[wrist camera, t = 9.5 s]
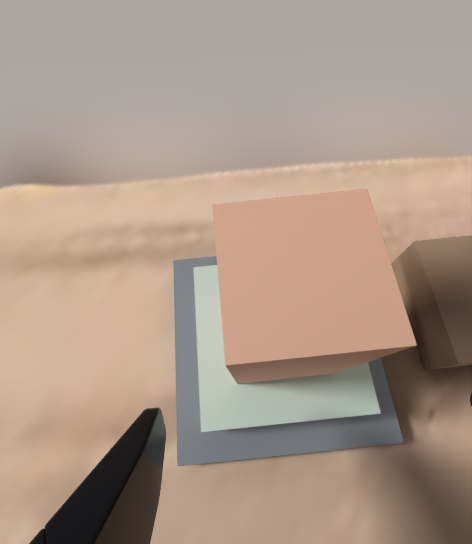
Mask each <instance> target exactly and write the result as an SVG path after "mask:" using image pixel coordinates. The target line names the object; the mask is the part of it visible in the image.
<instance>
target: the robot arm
mask: <svg viewBox="0 0 472 544" xmlns="http://www.w3.org/2000/svg"><path fill="white" fill-rule="evenodd" d="M470 402H471V406H472V393H471V397H470ZM165 441H166V428H165V424H164V420H163V416H162V411H161V409H160V408H148V409H145V410H144V411H143V412H142V413H141V415H140V416H139V417H138V418H137V419H136V420H135V422H134V423H133V424H132V425H131V426H130V427H129V429H128V430H127V431H126V432H125V433H124V434H123V435H122V437H121V438H120V439H119V440H118V441H117V442H116V444H115V445H114V446H113V447H112V448H111V449H110V451H109V452H108V453H107V454H106V455H105V456H104V458H103V459H102V460H101V461H100V462H99V463H98V465H97V466H96V467H95V468H94V469H93V470H92V471H91V473H90V474H89V475H88V476H87V477H86V478H85V480H84V481H83V482H82V483H81V484H80V485H79V487H78V488H77V489H76V490H75V491H74V492H73V494H72V495H71V496H70V497H69V498H68V499H67V501H66V502H65V503H64V504H63V505H62V506H61V508H60V509H59V510H58V511H57V512H56V513H55V514H54V516H53V517H52V518H51V519H50V520H49V521H48V523H47V524H46V525H45V529H41V531H40V532H39V533H38V534H37V535H36V536H35V538H34V539H33V540H32V541H31V542H30V543H29V544H150V541H151V536H152V531H153V527H154V522H155V517H156V512H157V507H158V502H159V496H160V489H161V480H162V470H163V460H164V451H165Z"/></svg>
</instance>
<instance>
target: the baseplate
mask: <svg viewBox="0 0 472 544" xmlns="http://www.w3.org/2000/svg"><path fill="white" fill-rule="evenodd" d="M211 265H217V256H214V257H204V258H194V259H185V260H175V261H174V306H175V358H176V410H177V462H178V466H186V465H196V464H205V463H215V462H224V461H234V460H244V459H253V458H263V457H273V456H282V455H292V454H301V453H311V452H321V451H330V450H340V449H350V448H359V447H369V446H378V445H388V444H398V443H404V441H403V437H402V433H401V430H400V426H399V422H398V419H397V415H396V411H395V407H394V404H393V400H392V396H391V393H390V389H389V385H388V381H387V378H386V374H385V370H384V367H383V363H382V359H381V358H378V359H375V360H372V361H369V362H368V365H369V369H370V373H371V376H372V380H373V384H374V388H375V392H376V396H377V400H378V404H379V408H380V412H381V414H372V415H362V416H352V417H343V418H333V419H323V420H314V421H304V422H294V423H285V424H275V425H266V426H256V427H246V428H237V429H227V430H217V431H208V432H201V421H200V399H199V377H198V356H197V334H196V312H195V290H194V269H193V267H202V266H211Z"/></svg>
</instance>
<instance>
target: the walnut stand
mask: <svg viewBox="0 0 472 544" xmlns="http://www.w3.org/2000/svg"><path fill="white" fill-rule="evenodd" d="M391 265H392V268H393V271H394V274H395V277H396V281H397V284H398V287H399V290H400V293H401V296H402V299H403V303H404V306H405V309H406V312H407V315H408V318H409V321H410V325H411V328H412V331H413V334H414V337H415V340H416V343H417V347H418V350H419V353H420V356H421V359H422V362H423V366H424V369H425V370H435V369H445V368H454V367H464V366H472V236H462V237H452V238H442V239H433V240H423V241H414V242H413V243H412V244H411V245H410V246H409V247H408V248H407V249H406V250H405V251H404V252H403V253H402V254H401V255H400V256H399V257H398V258H397V259H396V260H395V261H394V262H393V263H392V264H391Z"/></svg>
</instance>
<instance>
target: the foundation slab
mask: <svg viewBox="0 0 472 544" xmlns="http://www.w3.org/2000/svg"><path fill="white" fill-rule="evenodd" d="M193 269H194V290H195V312H196V334H197V356H198V377H199V399H200V421H201V432H208V431H217V430H227V429H237V428H246V427H256V426H266V425H275V424H285V423H294V422H304V421H314V420H323V419H333V418H343V417H352V416H362V415H372V414H381V412H380V408H379V404H378V400H377V396H376V392H375V388H374V384H373V380H372V376H371V373H370V369H369V365H368V362H366V363H363V364H360V365H357V366H354V367H351V368H348V369H345V370H342V371H339V372H336V373H333V374H329V375H319V376H309V377H300V378H290V379H281V380H271V381H262V382H252V383H242V384H237V383H236V381H235V380H234V378H233V377H232V375H231V373H230V372H229V370H228V369H227V367H226V366H225V355H224V342H223V330H222V318H221V305H220V293H219V280H218V268H217V265H211V266H202V267H193Z"/></svg>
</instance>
